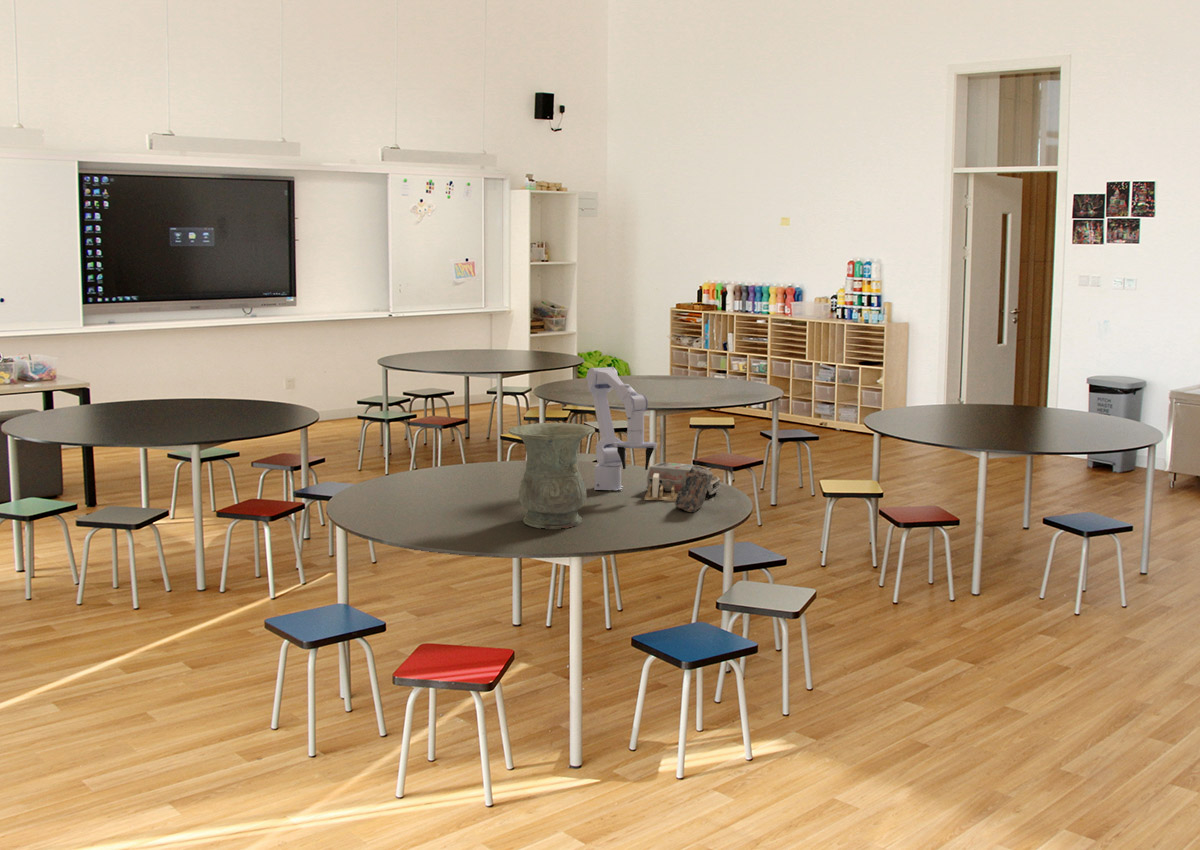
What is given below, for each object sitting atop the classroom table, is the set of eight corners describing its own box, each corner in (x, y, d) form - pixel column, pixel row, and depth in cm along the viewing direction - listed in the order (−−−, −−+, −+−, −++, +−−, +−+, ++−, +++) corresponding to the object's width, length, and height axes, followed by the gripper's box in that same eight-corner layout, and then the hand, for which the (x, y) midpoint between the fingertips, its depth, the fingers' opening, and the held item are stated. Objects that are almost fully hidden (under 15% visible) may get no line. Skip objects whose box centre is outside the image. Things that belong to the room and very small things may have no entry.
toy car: (711, 499, 387) (712, 471, 386) (645, 493, 397) (645, 465, 396) (721, 493, 397) (722, 466, 395) (656, 487, 407) (656, 460, 405)
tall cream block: (652, 497, 385) (652, 477, 384) (653, 493, 392) (654, 473, 391) (657, 497, 385) (657, 477, 384) (659, 493, 392) (659, 473, 391)
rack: (644, 500, 385) (644, 489, 384) (646, 494, 394) (646, 483, 393) (676, 501, 384) (676, 490, 383) (678, 495, 392) (678, 484, 392)
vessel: (548, 508, 373) (548, 419, 368) (611, 520, 356) (611, 427, 352) (491, 523, 352) (490, 429, 348) (554, 537, 336) (554, 438, 331)
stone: (679, 514, 365) (680, 469, 362) (666, 505, 377) (666, 462, 375) (717, 512, 368) (718, 467, 366) (702, 503, 381) (703, 460, 378)
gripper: (613, 431, 381) (613, 470, 383) (656, 432, 379) (655, 471, 381) (615, 428, 388) (615, 466, 390) (657, 429, 386) (657, 467, 388)
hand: (635, 469), depth 386 cm, fingers open, 7 cm apart
